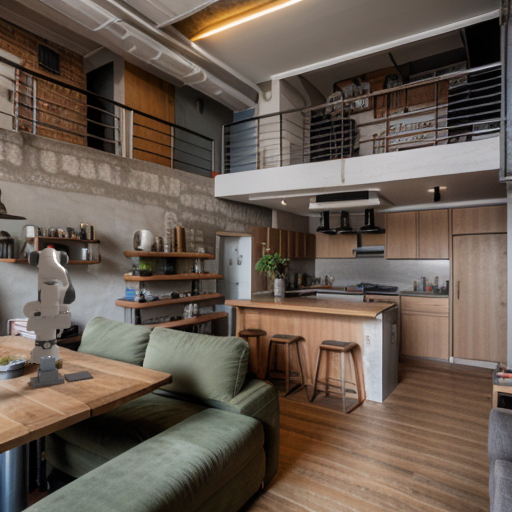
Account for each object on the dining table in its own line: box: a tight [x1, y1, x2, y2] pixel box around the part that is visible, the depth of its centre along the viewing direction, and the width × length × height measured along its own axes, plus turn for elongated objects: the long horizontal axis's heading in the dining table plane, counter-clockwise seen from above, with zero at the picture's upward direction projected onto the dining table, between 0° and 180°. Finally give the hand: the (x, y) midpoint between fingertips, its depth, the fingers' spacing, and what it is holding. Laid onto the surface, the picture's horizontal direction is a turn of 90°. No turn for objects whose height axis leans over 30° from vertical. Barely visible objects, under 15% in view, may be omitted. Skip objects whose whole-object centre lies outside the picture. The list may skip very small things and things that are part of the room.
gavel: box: [55, 360, 64, 369], centre depth 203 cm, size 21×5×10 cm
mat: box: [63, 370, 94, 383], centre depth 194 cm, size 14×12×1 cm
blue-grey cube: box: [39, 355, 56, 371], centre depth 185 cm, size 6×6×6 cm
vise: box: [29, 356, 66, 389], centre depth 185 cm, size 13×14×14 cm
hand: (48, 338), depth 186 cm, fingers open, 8 cm apart
